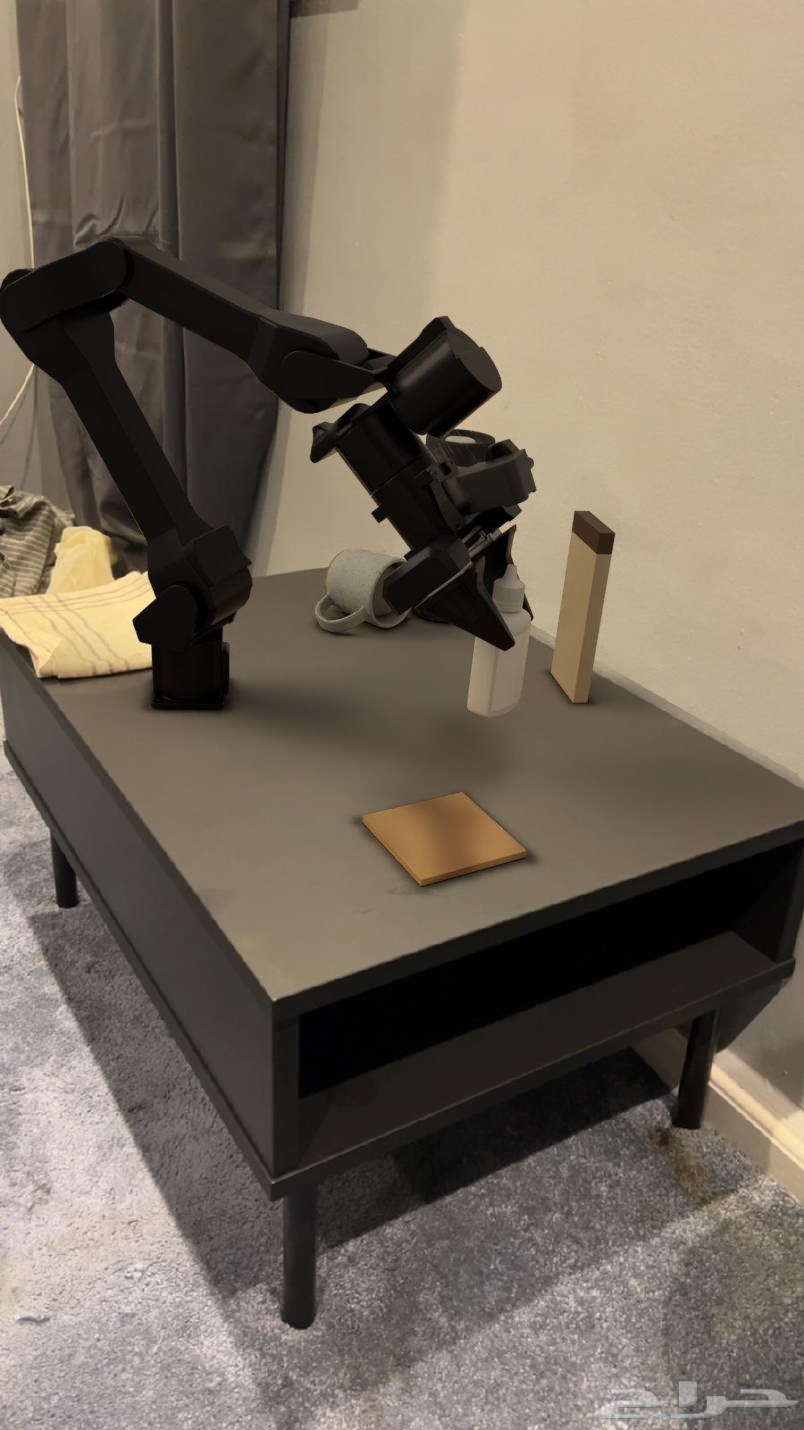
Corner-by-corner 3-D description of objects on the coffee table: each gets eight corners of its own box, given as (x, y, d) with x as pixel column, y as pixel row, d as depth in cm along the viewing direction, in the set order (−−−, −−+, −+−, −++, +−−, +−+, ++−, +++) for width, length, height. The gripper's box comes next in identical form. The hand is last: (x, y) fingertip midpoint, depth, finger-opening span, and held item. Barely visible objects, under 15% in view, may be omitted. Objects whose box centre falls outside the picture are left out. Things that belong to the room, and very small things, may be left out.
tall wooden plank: (572, 703, 102) (599, 532, 94) (550, 672, 108) (574, 510, 100) (587, 702, 102) (615, 533, 94) (564, 672, 108) (589, 510, 100)
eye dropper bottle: (536, 711, 86) (558, 572, 80) (477, 721, 83) (495, 578, 78) (508, 689, 89) (527, 554, 84) (451, 698, 87) (466, 559, 81)
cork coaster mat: (421, 886, 73) (421, 879, 73) (362, 821, 80) (362, 815, 80) (526, 857, 77) (527, 850, 77) (461, 798, 84) (462, 791, 84)
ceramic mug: (362, 598, 123) (364, 535, 119) (416, 618, 118) (420, 553, 115) (297, 622, 115) (297, 555, 112) (351, 644, 111) (354, 575, 107)
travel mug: (471, 627, 117) (492, 447, 108) (403, 617, 118) (419, 438, 109) (480, 605, 124) (500, 433, 115) (416, 596, 125) (432, 425, 116)
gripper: (439, 431, 69) (578, 620, 71) (511, 390, 85) (623, 546, 87) (323, 526, 75) (455, 699, 77) (411, 472, 90) (519, 617, 92)
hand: (520, 634), depth 83 cm, fingers closed on eye dropper bottle, 5 cm apart
